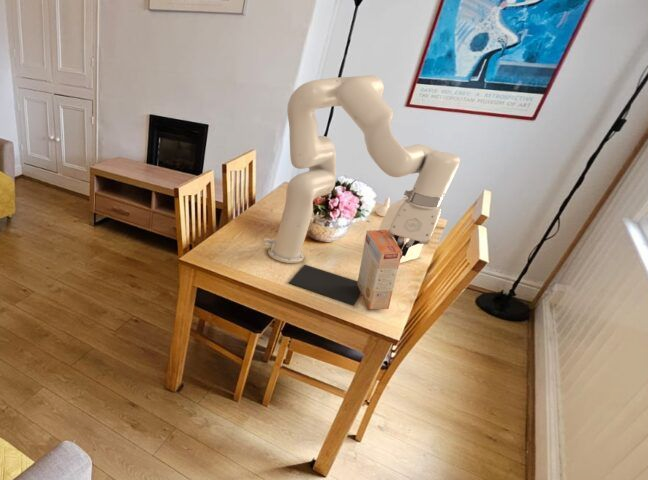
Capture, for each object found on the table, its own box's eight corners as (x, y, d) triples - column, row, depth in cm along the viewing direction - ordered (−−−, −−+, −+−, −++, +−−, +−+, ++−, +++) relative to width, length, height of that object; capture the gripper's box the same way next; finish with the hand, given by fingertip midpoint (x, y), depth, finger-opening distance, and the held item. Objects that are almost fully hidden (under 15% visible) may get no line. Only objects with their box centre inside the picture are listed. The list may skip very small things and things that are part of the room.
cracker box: (390, 309, 138) (403, 251, 127) (367, 310, 140) (379, 252, 128) (376, 284, 149) (388, 228, 137) (356, 284, 151) (365, 229, 139)
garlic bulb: (390, 219, 197) (397, 201, 192) (374, 215, 199) (381, 198, 195) (391, 214, 201) (398, 197, 196) (375, 211, 204) (382, 194, 199)
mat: (288, 283, 153) (289, 282, 152) (304, 265, 163) (304, 264, 163) (353, 305, 142) (353, 304, 142) (365, 285, 152) (366, 284, 152)
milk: (396, 263, 164) (426, 196, 149) (368, 250, 173) (395, 185, 158) (418, 257, 168) (450, 191, 153) (390, 244, 177) (418, 180, 162)
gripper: (392, 196, 126) (368, 253, 136) (455, 210, 118) (425, 269, 129) (397, 188, 131) (374, 244, 141) (458, 201, 123) (429, 259, 133)
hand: (398, 256), depth 135 cm, fingers closed
